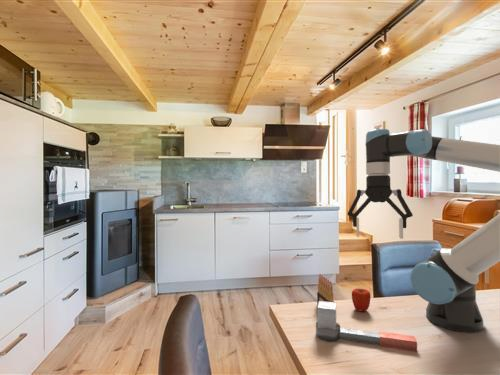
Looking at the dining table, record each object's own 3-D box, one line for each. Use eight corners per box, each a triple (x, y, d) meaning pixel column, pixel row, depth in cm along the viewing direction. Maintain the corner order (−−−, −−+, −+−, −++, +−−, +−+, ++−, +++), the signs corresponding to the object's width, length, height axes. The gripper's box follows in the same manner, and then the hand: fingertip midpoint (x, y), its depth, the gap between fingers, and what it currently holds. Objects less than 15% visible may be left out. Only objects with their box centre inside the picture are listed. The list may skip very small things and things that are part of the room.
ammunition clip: (335, 317, 96) (334, 282, 96) (330, 317, 96) (329, 282, 96) (321, 304, 107) (321, 272, 107) (317, 305, 107) (316, 273, 107)
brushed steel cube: (336, 322, 86) (336, 302, 86) (335, 330, 81) (335, 309, 82) (319, 320, 88) (319, 301, 88) (317, 328, 83) (317, 307, 83)
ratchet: (412, 341, 81) (412, 318, 81) (418, 355, 74) (418, 330, 74) (317, 328, 89) (316, 307, 89) (314, 339, 82) (314, 317, 82)
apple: (358, 315, 98) (358, 293, 98) (348, 307, 104) (348, 287, 104) (374, 313, 99) (374, 291, 99) (363, 306, 105) (363, 285, 105)
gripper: (416, 174, 97) (417, 236, 97) (340, 176, 105) (341, 233, 105) (422, 173, 90) (423, 240, 90) (339, 175, 98) (340, 237, 98)
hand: (379, 237), depth 98 cm, fingers open, 13 cm apart
